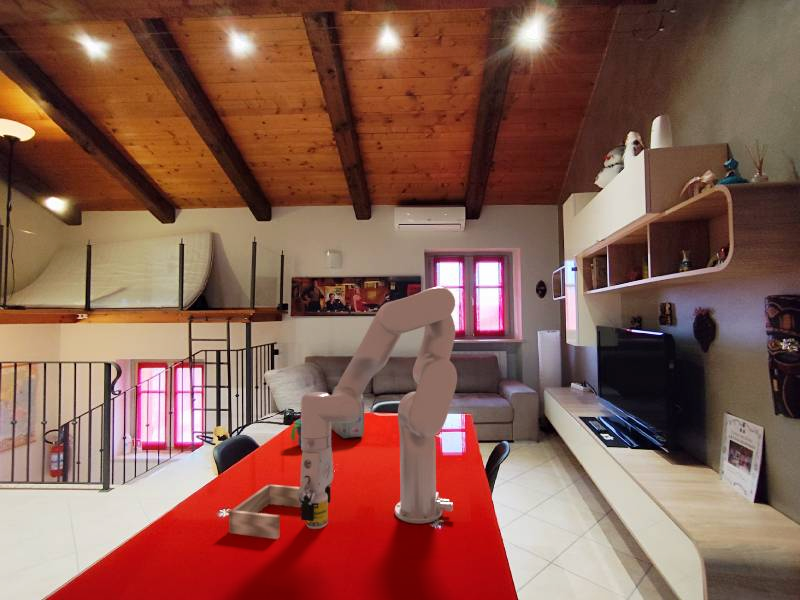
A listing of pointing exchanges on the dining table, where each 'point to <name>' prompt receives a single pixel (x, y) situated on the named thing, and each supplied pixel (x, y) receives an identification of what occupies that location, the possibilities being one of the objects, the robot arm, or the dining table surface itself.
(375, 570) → the dining table surface
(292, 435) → the snack cup
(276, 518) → the open-sided box
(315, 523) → the supplement bottle
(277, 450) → the dining table surface
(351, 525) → the dining table surface
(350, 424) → the lunch box
